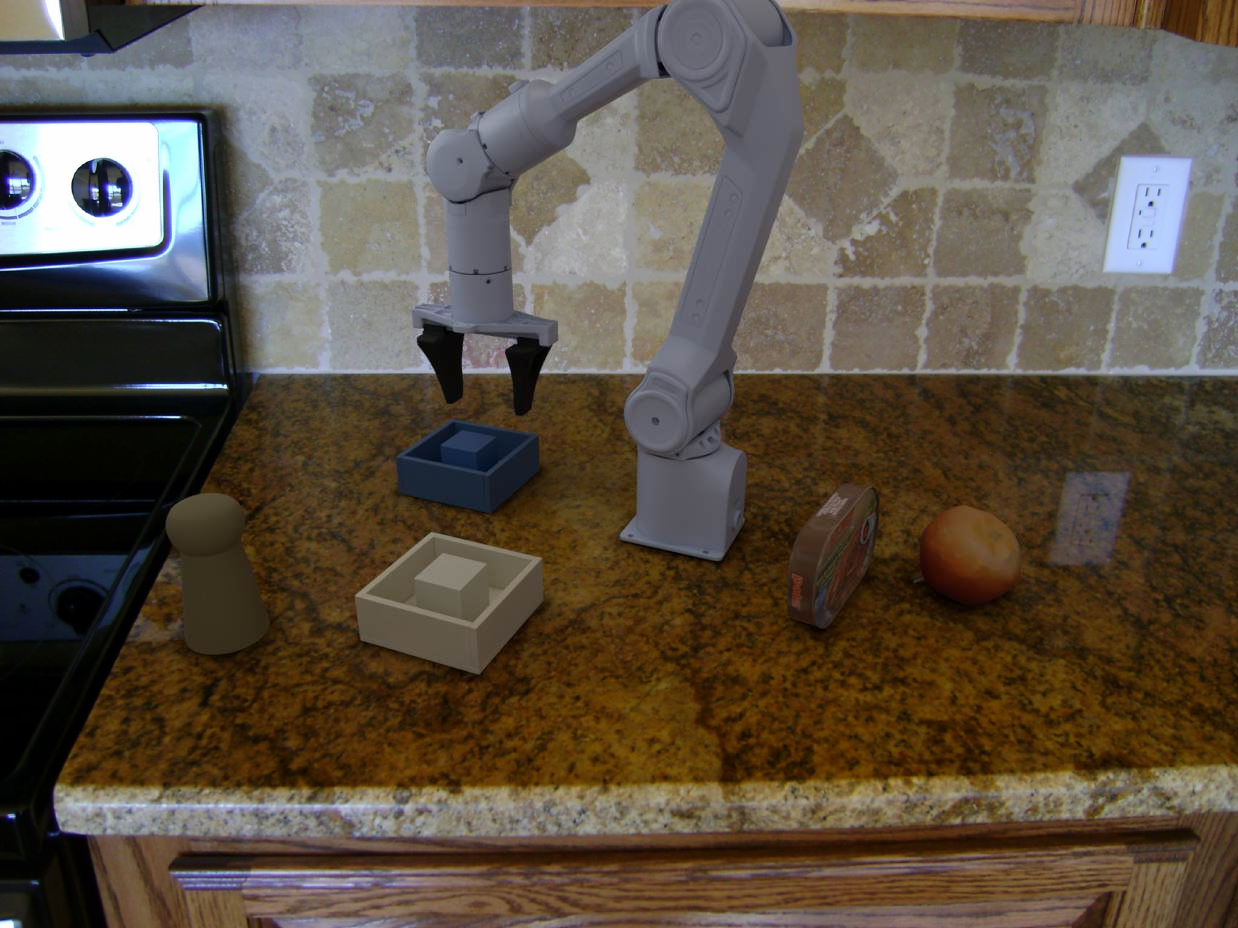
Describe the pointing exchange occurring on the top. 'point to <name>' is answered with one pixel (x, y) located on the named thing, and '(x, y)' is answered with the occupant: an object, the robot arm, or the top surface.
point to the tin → (832, 554)
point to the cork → (216, 575)
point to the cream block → (453, 587)
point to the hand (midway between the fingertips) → (488, 406)
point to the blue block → (470, 451)
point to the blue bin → (466, 486)
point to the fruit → (969, 556)
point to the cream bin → (440, 637)
